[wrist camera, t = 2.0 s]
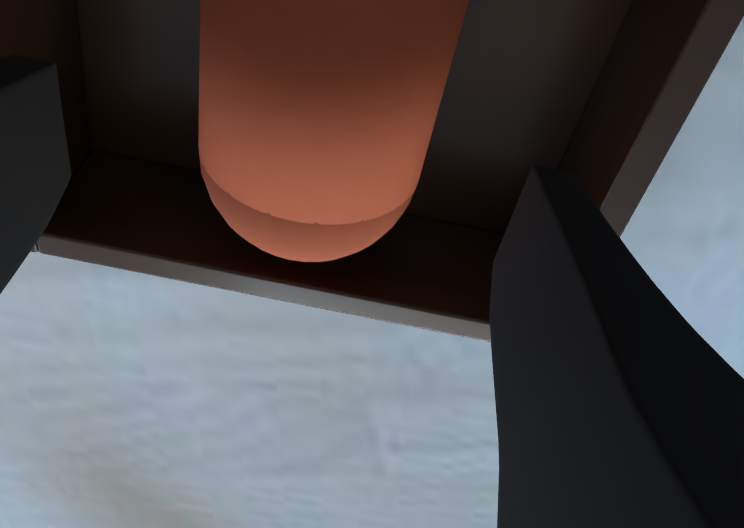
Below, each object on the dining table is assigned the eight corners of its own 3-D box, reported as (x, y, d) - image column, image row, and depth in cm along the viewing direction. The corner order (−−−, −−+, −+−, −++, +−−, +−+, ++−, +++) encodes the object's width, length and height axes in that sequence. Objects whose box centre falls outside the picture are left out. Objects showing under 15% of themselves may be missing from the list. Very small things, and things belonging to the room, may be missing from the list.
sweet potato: (404, 194, 19) (389, 326, 15) (226, 157, 19) (170, 283, 15) (514, -221, 12) (533, -159, 9) (246, -285, 12) (156, -247, 9)
